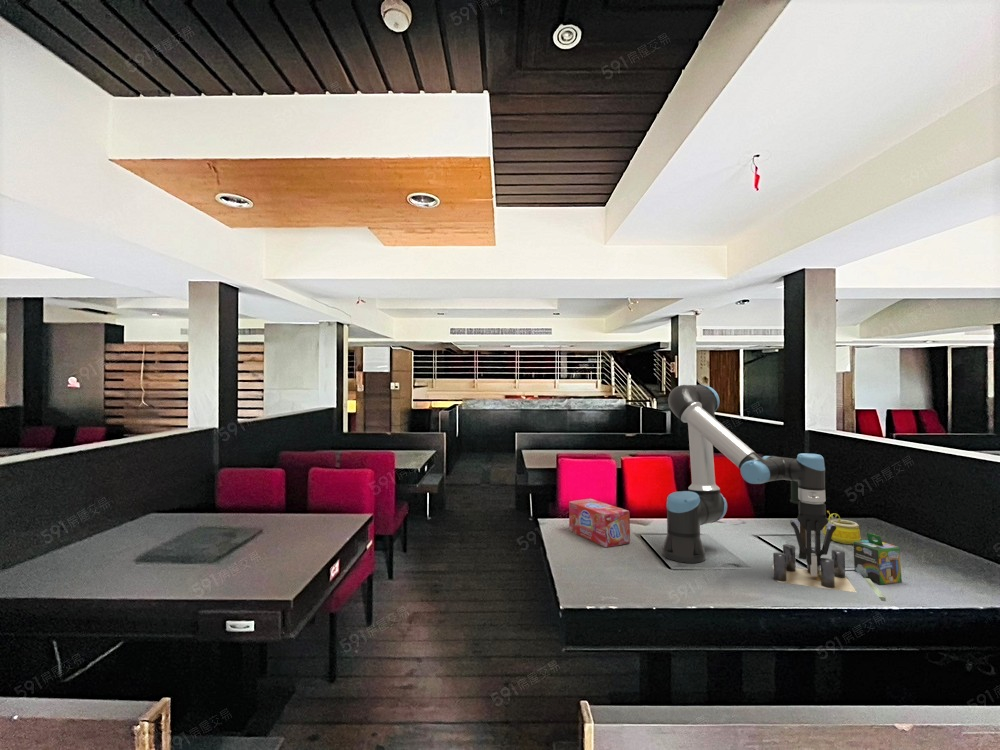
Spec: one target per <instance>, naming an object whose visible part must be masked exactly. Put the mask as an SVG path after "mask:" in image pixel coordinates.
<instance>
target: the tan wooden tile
mask: <svg viewBox="0 0 1000 750" xmlns="http://www.w3.org/2000/svg"><path fill="white" fill-rule="evenodd" d="M815 577H816V576H815ZM816 579H817V581H821V569H820V570H817V577H816Z"/></svg>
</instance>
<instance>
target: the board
mask: <svg viewBox="0 0 1000 750" xmlns="http://www.w3.org/2000/svg"><path fill="white" fill-rule="evenodd" d="M771 566H772V569H773V571H774V565H773V564H772V565H771ZM786 576H787V581H785V582H782V581H777V580H776V581H777V583H784V584H789V585H798V586H806V587H814V588H821V589H826V590H827V589H828V590H836V591H843V592H851V593H855V594H856V593H858V592H857V591H856V589H855V587H854V586H853V584H851V582H850V580H849V579H848V577H847V576H846V575H845V578H838V577H835V588H827V587H824V586H822V585H821V581H817V579H816V577H815V576H812V575H811V574H810V573H808V572H807V569H806V568H798V567H796V571H795V572H790V571H786ZM863 580H864V581H865V582H866V583H867V584H868V586H869V587H870V588H871V590H872V591H873V592H874V593H875V594H876V596H877V597H878V599H880V601H884V602H886V601H887V600H886V596H885V595H884V593H882V591H881V590H880V589H879V588H878V587H877V586H876V583H874V582H872V581H871V580H870V579H869V578H863Z"/></svg>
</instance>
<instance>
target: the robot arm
mask: <svg viewBox="0 0 1000 750" xmlns="http://www.w3.org/2000/svg"><path fill="white" fill-rule="evenodd" d="M667 402H668V407H669V409H670V410H671V412H672V413H673V414H674V415H675V416H676V418H678V419H679V420H680V421H681V422H682V423H687V426H688V427H687V429H688V441H689V444H688V446H689V456H690V457H689V458H690V459H689V460H690V472H691V473H690V474H691V475H690V476H691V484H690V485H689V486H688V490H682V491H678V490H677V491H675V492H674V491H673V492H672V493H670V494H668V496H667V498H666V504H665V505H666V528H667V529H666V532H667V534H666V536H665V539H664V544H663V546H662V556H663V555H664V556H665V557H664V556H663V557H664V558H666V557H667V558H666V559H668V558H669V560H670V559H671V560H670V561H674V560H675V561H674V562H678V563H684V562H685V563H686V564H696V563H702V562H704V561H706V559H707V558H706V557H707V556H706V550H705V547H704V544H703V541H702V539H701V526H703V525H707V524H712V523H716V522H718V521H720V520H722V519H723V518H724V517H725V515H726V513H727V511H728V502H727V499H726V498H725V497H724V495H723V494H722V493H721V488H720V487H719V486H718V485H717V484H716V476H715V475H716V474H715V462H714V461H715V460H714V458H715V457H714V447H715V448H716V449H717V450H718V451H719V452H720V453H721V454H722V455H724V456H725V457H726V458H727V459H728V460H730V462H732V463H733V464H734V465H735V466H736V467H737V468H738V469H739V470H740V475H741V476H742V479H743V480H744V481H745V482H746V483H749V484H752V485H758V484H759V485H761V484H765V483H768V482H775V481H781V480H785V481H790V482H791V481H798V499H799V500H801V501H799V509H798V515H797V516H796V519H794V520H792V519H791V520H790V521H789V523H790V525H791V527H792V529H793V531H794V534H795V538H796V541H797V544H798V547H799V548H800V550H801V552H804V553H806V559H805V560H806V565H807V564H809V565H810V571H811V575H812V576H816V577H817V566H820V558H822V556H824V555H825V556H826V555H828V553H829V549H830V545H831V541H832V539H831V538H832V534H833V532H834V531H835V530H836V526H835V525H834V524H831V523H829V521H828V517H827V507H826V506H827V505H826V504H825V502H827V501H826V500H827V498H826V466H825V459H824V457H823V456H822V455H821V454H817V453H806V452H805V453H798V454H797V457H796V458H790V457H783V456H776V455H764V456H760V455H758V453H756V452H755V451H754V450H753V449H752V448H750V447H749V445H747V444H746V443H744V442H743V441H742V440H741V439H740V438H739V437H737V436H736V435H735V434H734V433H733V432H731V430H729V429H728V428H727V427H726V426H724V425H723V423H721V422H720V421H718V419H716V416H715V413H716V411H717V410H718V409H719V407H720V397H719V394H718V393H717V391H716V390H715V389H714V388H713V387H711V386H708V385H703V384H681V385H678V386H675V387H674V388H673V389H672V390H671V391H670V393H669V395H668V399H667ZM800 523H801V525H802V526H803V527H804V528H805V533H806V548H804V545H803V542H802V539H801V535H800V528H799V527H800ZM826 525H827V527H826V530H825V532H826V535H824V539H823V543H821V541H822V540H821V533H822V532H821V531H823V528H824V527H825V526H826ZM813 531H814V547H815V554H813V553H811V547H812V532H813ZM821 544H822V545H821Z"/></svg>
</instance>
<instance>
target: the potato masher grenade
mask: <svg viewBox="0 0 1000 750" xmlns="http://www.w3.org/2000/svg"><path fill="white" fill-rule="evenodd" d="M799 501H801V500H799V499H798V481H790V499H789V502H790V503H792V504H795V505H797V507H798V510H799ZM799 532H800V535H801V539H802V542H803V545H804V548H806V533H805V528H804V527H803V526H802V525H801V523H800V522H799ZM798 550H799V551H798V552H799V554H798V558H799V559H802V560H806V553H804V552H801V550H800V548H799V549H798Z"/></svg>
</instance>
